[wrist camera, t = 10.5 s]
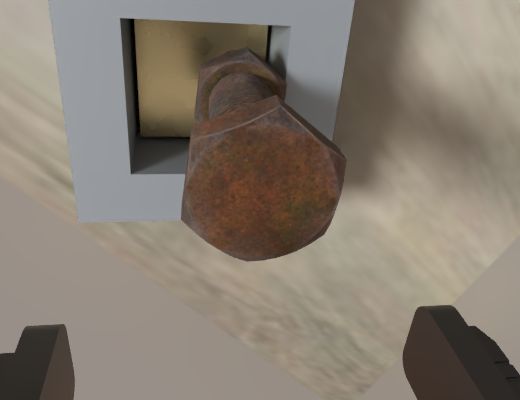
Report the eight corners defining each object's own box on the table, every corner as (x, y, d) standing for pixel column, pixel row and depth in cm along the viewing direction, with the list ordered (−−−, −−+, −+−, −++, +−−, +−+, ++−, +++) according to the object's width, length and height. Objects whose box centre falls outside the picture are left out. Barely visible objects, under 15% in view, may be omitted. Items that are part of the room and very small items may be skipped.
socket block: (325, -48, 27) (361, -39, 22) (298, 172, 34) (320, 216, 29) (66, -68, 25) (39, -62, 20) (93, 173, 32) (78, 222, 27)
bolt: (297, 73, 29) (380, 190, 16) (244, 135, 30) (278, 288, 17) (222, 7, 27) (245, 78, 14) (168, 77, 28) (142, 202, 15)
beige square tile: (264, 10, 28) (268, 15, 27) (255, 128, 32) (259, 137, 31) (135, 4, 27) (133, 8, 26) (142, 127, 31) (140, 136, 30)
